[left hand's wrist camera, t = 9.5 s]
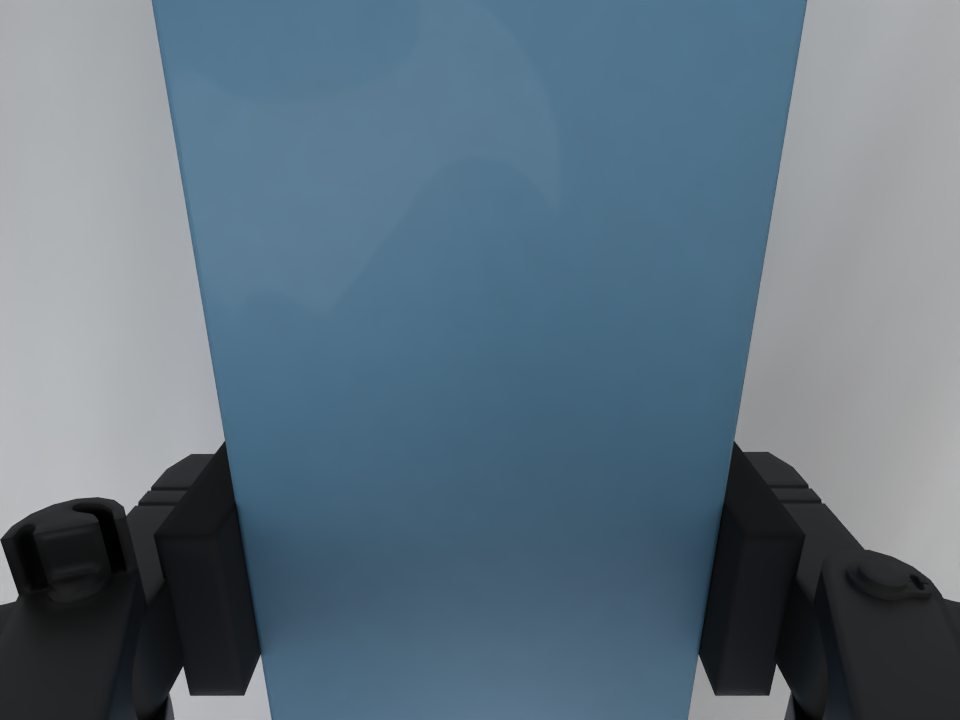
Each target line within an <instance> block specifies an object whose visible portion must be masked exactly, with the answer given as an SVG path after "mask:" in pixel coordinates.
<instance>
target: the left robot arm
mask: <svg viewBox="0 0 960 720" xmlns="http://www.w3.org/2000/svg"><path fill="white" fill-rule="evenodd" d="M0 540H1V543H2V546H3V549H4V552H5V555H6V558H7V561H8V564H9V567H10V570H11V573H12V576H13V579H14V582H15V585H16V588H17V591H18V594H19V596H18V598H17V600H16V602H12V603H8V604H4V605H0V720H174V713H173V707H172V702H171V698H170V694H169V692H170V690H171V688H172V686H173V684H174V682H175V680H176V678H177V677H178V675H179V673H180V671H181V669H182V667H183V666H184V671H185V675H186V679H187V684H188V688H189V693H190V696H244V695H245V692H246V690H247V687H248V685H249V682H250V680H251V677H252V675H253V672H254V670H255V667H256V665H257V662H258V660H259V657H260V655H261V652H260V646H259V640H258V634H257V628H256V622H255V616H254V610H253V604H252V598H251V592H250V586H249V580H248V574H247V568H246V562H245V556H244V550H243V544H242V538H241V532H240V526H239V520H238V514H237V508H236V502H235V496H234V490H233V484H232V478H231V472H230V466H229V460H228V454H227V448H226V442H224V443H223V444H222V446H221V447H220V448H219V450H218V451H217V452H216V453H215V454H191V455H189V456H188V457H186V458H184V459H183V460H181V461H180V462H178V463H176V464H175V465H173V466H171V467H170V468H168V469H167V470H166V471H165V472H164V473H163V474H162V475H161V477H160V478H159V479H158V480H157V481H156V482H155V484H154V485H153V486H152V487H151V491H148V492H147V493H146V494H145V495H144V496H143V497H142V499H141V500H140V501H139V504H138V506H135V507H134V508H133V509H132V510H131V511H130V512H129V514H128V515H127V516H126V514H125V510H124V507H123V506H122V505H120V504H119V503H117V502H116V501H115V500H111V499H105V498H99V497H95V498H81V499H74V500H70V501H66V502H62V503H58V504H54V505H51V506H49V507H47V508H44V509H42V510H40V511H37V512H35V513H32V514H30V515H29V516H27V517H26V518H24V519H23V520H21V521H19V522H18V523H16V524H15V525H13V526H12V527H11V528H10V529H9V530H8V531H7V533H6V534H5V535H4V536H3V537H2V538H1V539H0ZM699 656H700V659H701V661H702V664H703V666H704V669H705V671H706V674H707V676H708V679H709V681H710V684H711V686H712V689H713V691H714V694H715V696H769V694H770V690H771V685H772V681H773V676H774V672H775V668H776V663H777V665H778V667H779V669H780V671H781V673H782V675H783V676H784V678H785V680H786V682H787V684H788V686H789V688H790V690H791V694H790V698H789V702H788V706H787V710H786V714H785V719H784V720H960V602H955V601H951V600H947V599H944V598H943V597H942V595H941V593H940V592H939V591H938V589H937V588H936V587H935V585H934V584H933V583H932V581H931V580H930V579H929V578H927V577H926V576H925V575H923V574H922V573H921V572H919V571H918V570H917V569H915V568H914V567H912V566H910V565H908V564H906V563H904V562H902V561H900V560H898V559H896V558H894V557H892V556H888V555H885V554H881V553H878V552H874V551H871V550H865V549H864V548H863V547H862V546H861V545H860V544H859V543H858V541H857V540H856V539H855V538H854V537H853V536H852V534H851V533H850V532H849V531H848V530H847V529H846V528H845V526H844V525H843V524H842V523H841V522H840V521H839V520H838V518H837V517H836V516H835V515H834V514H833V513H832V511H831V510H830V509H829V508H828V507H827V506H826V505H825V504H822V503H821V499H820V498H819V497H818V495H817V494H816V493H815V492H814V491H813V490H812V489H809V487H808V484H807V483H806V482H805V480H804V479H803V478H802V477H801V476H800V475H799V474H798V472H797V471H796V470H795V469H794V468H793V467H792V466H790V465H789V464H787V463H785V462H784V461H782V460H780V459H779V458H777V457H775V456H774V455H772V454H771V453H769V452H742V450H741V449H740V448H739V446H738V445H737V444H736V443H735V441H734V443H733V449H732V455H731V461H730V467H729V473H728V479H727V485H726V491H725V497H724V503H723V509H722V516H721V522H720V528H719V534H718V540H717V546H716V552H715V558H714V564H713V570H712V576H711V582H710V588H709V594H708V600H707V606H706V612H705V618H704V624H703V630H702V636H701V642H700V648H699Z"/></svg>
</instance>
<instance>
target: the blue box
mask: <svg viewBox="0 0 960 720" xmlns="http://www.w3.org/2000/svg"><path fill="white" fill-rule="evenodd" d="M806 4H807V0H152V5H153V11H154V17H155V23H156V29H157V35H158V41H159V47H160V53H161V58H162V64H163V70H164V76H165V82H166V88H167V94H168V100H169V106H170V112H171V118H172V124H173V130H174V136H175V142H176V148H177V154H178V160H179V166H180V172H181V178H182V184H183V190H184V196H185V202H186V208H187V214H188V220H189V226H190V232H191V238H192V244H193V250H194V256H195V262H196V268H197V274H198V280H199V286H200V292H201V298H202V304H203V310H204V316H205V322H206V328H207V334H208V340H209V346H210V352H211V358H212V364H213V370H214V376H215V382H216V388H217V394H218V400H219V406H220V412H221V418H222V424H223V430H224V436H225V442H226V448H227V454H228V460H229V466H230V472H231V478H232V484H233V490H234V496H235V502H236V508H237V514H238V520H239V526H240V532H241V538H242V544H243V550H244V556H245V562H246V568H247V574H248V580H249V586H250V592H251V598H252V604H253V610H254V616H255V622H256V628H257V634H258V640H259V646H260V652H261V658H262V664H263V670H264V676H265V682H266V688H267V694H268V700H269V706H270V712H271V718H272V720H688V714H689V708H690V702H691V696H692V690H693V684H694V678H695V672H696V666H697V660H698V654H699V648H700V642H701V636H702V630H703V624H704V618H705V612H706V606H707V600H708V594H709V588H710V582H711V576H712V570H713V564H714V558H715V552H716V546H717V540H718V534H719V528H720V522H721V516H722V509H723V503H724V497H725V491H726V485H727V479H728V473H729V467H730V461H731V455H732V449H733V443H734V437H735V431H736V425H737V419H738V413H739V407H740V401H741V395H742V389H743V383H744V377H745V371H746V365H747V359H748V353H749V347H750V341H751V335H752V329H753V323H754V317H755V311H756V305H757V299H758V293H759V287H760V281H761V275H762V269H763V263H764V257H765V251H766V245H767V239H768V233H769V227H770V221H771V215H772V209H773V203H774V197H775V191H776V185H777V179H778V172H779V166H780V160H781V154H782V148H783V142H784V136H785V130H786V124H787V118H788V112H789V106H790V100H791V94H792V88H793V82H794V76H795V70H796V64H797V58H798V52H799V46H800V40H801V34H802V28H803V22H804V16H805V10H806Z"/></svg>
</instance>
